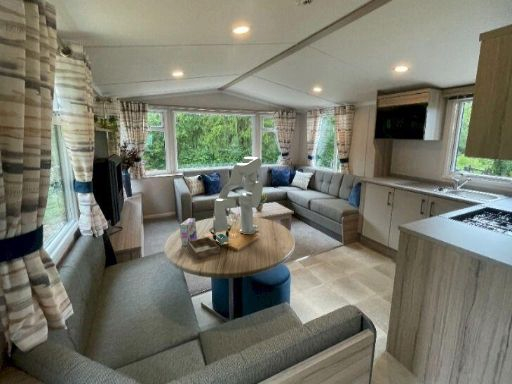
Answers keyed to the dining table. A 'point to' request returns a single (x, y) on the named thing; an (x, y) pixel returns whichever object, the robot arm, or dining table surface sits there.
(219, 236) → the small crate
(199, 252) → the big crate
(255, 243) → the dining table surface
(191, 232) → the candy box
